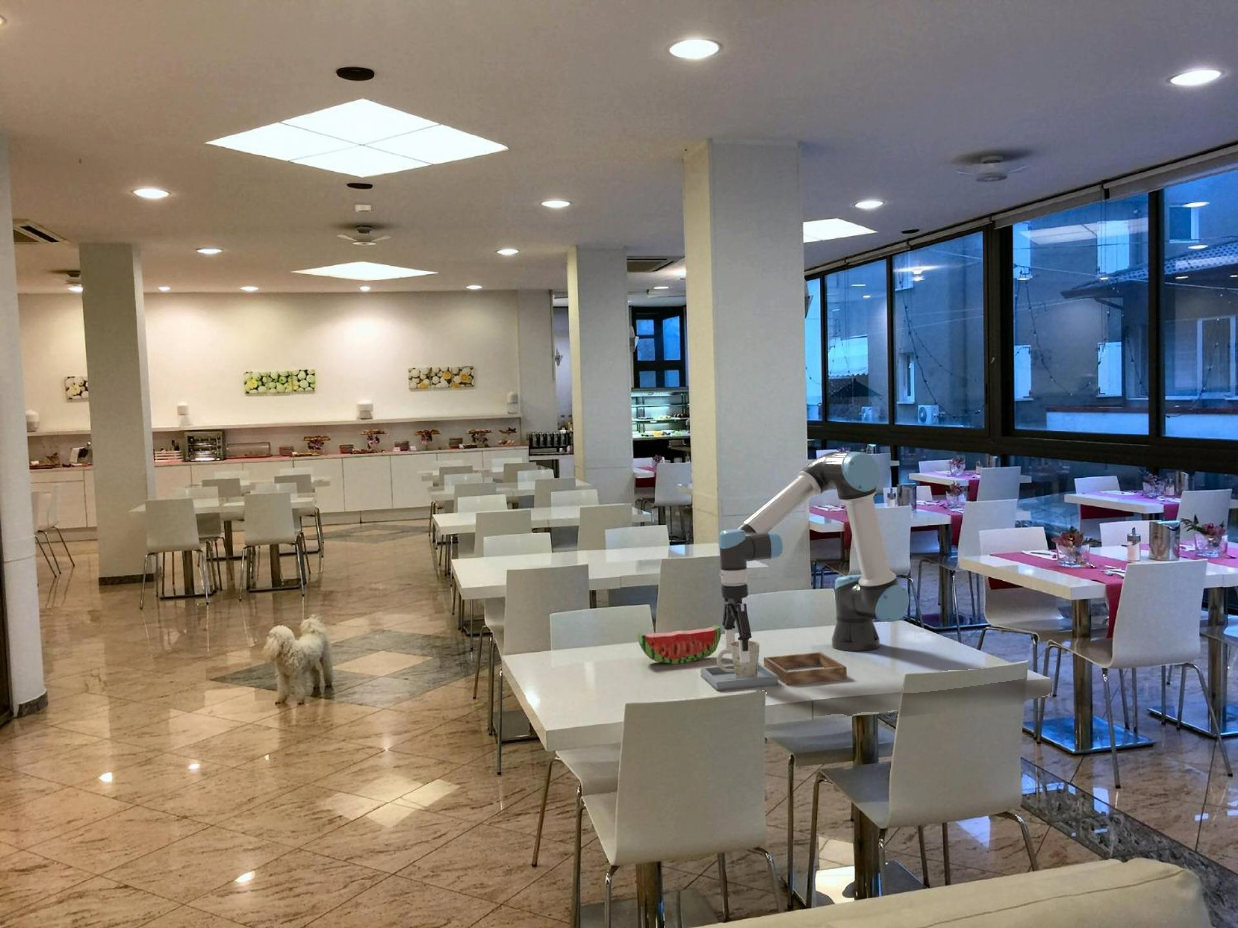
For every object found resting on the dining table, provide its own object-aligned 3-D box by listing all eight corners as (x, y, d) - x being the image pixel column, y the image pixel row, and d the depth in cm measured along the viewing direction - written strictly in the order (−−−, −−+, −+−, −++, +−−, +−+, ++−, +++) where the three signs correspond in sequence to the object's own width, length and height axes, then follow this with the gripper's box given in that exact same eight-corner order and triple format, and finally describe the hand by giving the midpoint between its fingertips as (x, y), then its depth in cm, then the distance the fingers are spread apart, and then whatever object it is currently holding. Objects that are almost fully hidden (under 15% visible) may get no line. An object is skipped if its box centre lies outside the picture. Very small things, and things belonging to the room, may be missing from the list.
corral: (820, 663, 301) (820, 651, 301) (846, 678, 282) (846, 666, 282) (764, 668, 298) (763, 657, 298) (786, 685, 279) (786, 672, 278)
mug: (760, 681, 281) (758, 647, 281) (715, 681, 284) (714, 647, 283) (761, 674, 289) (760, 640, 289) (718, 674, 292) (717, 640, 291)
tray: (759, 670, 296) (758, 662, 296) (778, 684, 279) (778, 675, 279) (700, 676, 293) (700, 667, 293) (716, 690, 276) (716, 681, 276)
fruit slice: (643, 667, 307) (641, 635, 306) (638, 663, 313) (636, 631, 312) (723, 659, 313) (721, 627, 312) (716, 654, 319) (715, 624, 318)
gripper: (709, 578, 297) (713, 648, 297) (734, 591, 272) (738, 667, 273) (734, 576, 298) (737, 646, 299) (760, 589, 273) (764, 665, 274)
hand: (737, 656), depth 286 cm, fingers open, 13 cm apart
